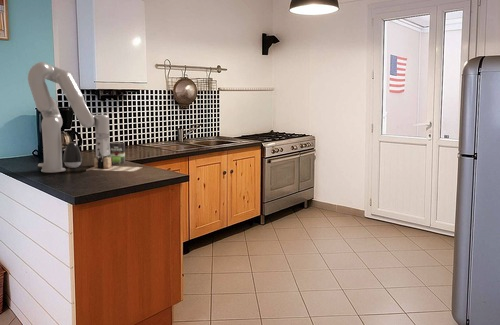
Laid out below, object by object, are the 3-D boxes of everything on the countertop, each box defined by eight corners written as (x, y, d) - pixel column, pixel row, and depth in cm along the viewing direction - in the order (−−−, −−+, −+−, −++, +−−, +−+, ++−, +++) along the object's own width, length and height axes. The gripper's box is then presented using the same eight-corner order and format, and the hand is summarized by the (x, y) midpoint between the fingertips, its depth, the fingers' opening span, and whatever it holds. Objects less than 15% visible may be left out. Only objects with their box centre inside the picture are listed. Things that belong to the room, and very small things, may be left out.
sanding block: (94, 168, 257) (94, 157, 257) (98, 167, 262) (98, 156, 262) (107, 168, 257) (107, 158, 256) (111, 167, 262) (111, 157, 261)
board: (86, 171, 253) (86, 169, 253) (97, 167, 268) (97, 165, 268) (134, 173, 250) (133, 171, 250) (143, 169, 265) (143, 167, 265)
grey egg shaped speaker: (63, 166, 271) (62, 141, 269) (81, 165, 274) (81, 140, 272) (62, 168, 261) (61, 142, 259) (81, 168, 265) (81, 142, 263)
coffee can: (125, 166, 275) (124, 143, 273) (107, 166, 272) (107, 143, 270) (125, 164, 285) (124, 141, 283) (108, 164, 282) (107, 142, 280)
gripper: (102, 137, 248) (102, 170, 251) (114, 135, 265) (115, 165, 267) (89, 137, 249) (89, 169, 251) (102, 134, 266) (103, 165, 268)
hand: (102, 167), depth 259 cm, fingers closed on sanding block, 5 cm apart
